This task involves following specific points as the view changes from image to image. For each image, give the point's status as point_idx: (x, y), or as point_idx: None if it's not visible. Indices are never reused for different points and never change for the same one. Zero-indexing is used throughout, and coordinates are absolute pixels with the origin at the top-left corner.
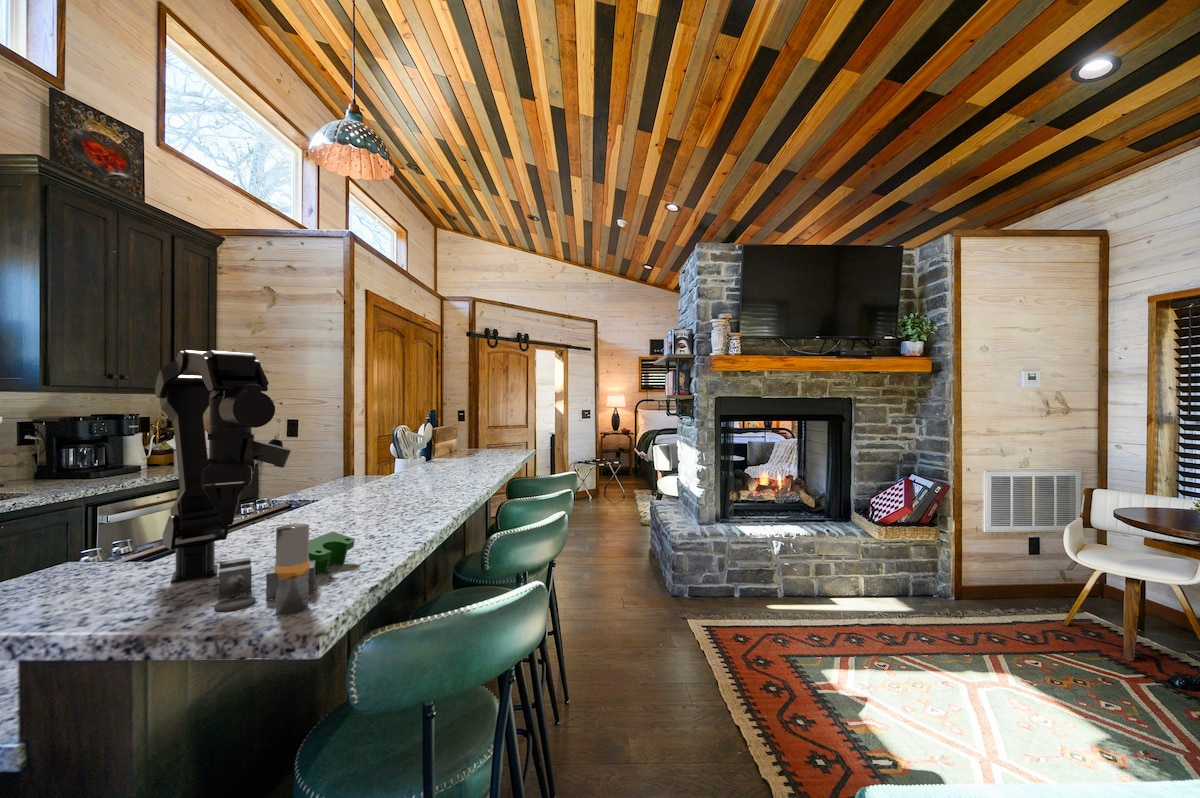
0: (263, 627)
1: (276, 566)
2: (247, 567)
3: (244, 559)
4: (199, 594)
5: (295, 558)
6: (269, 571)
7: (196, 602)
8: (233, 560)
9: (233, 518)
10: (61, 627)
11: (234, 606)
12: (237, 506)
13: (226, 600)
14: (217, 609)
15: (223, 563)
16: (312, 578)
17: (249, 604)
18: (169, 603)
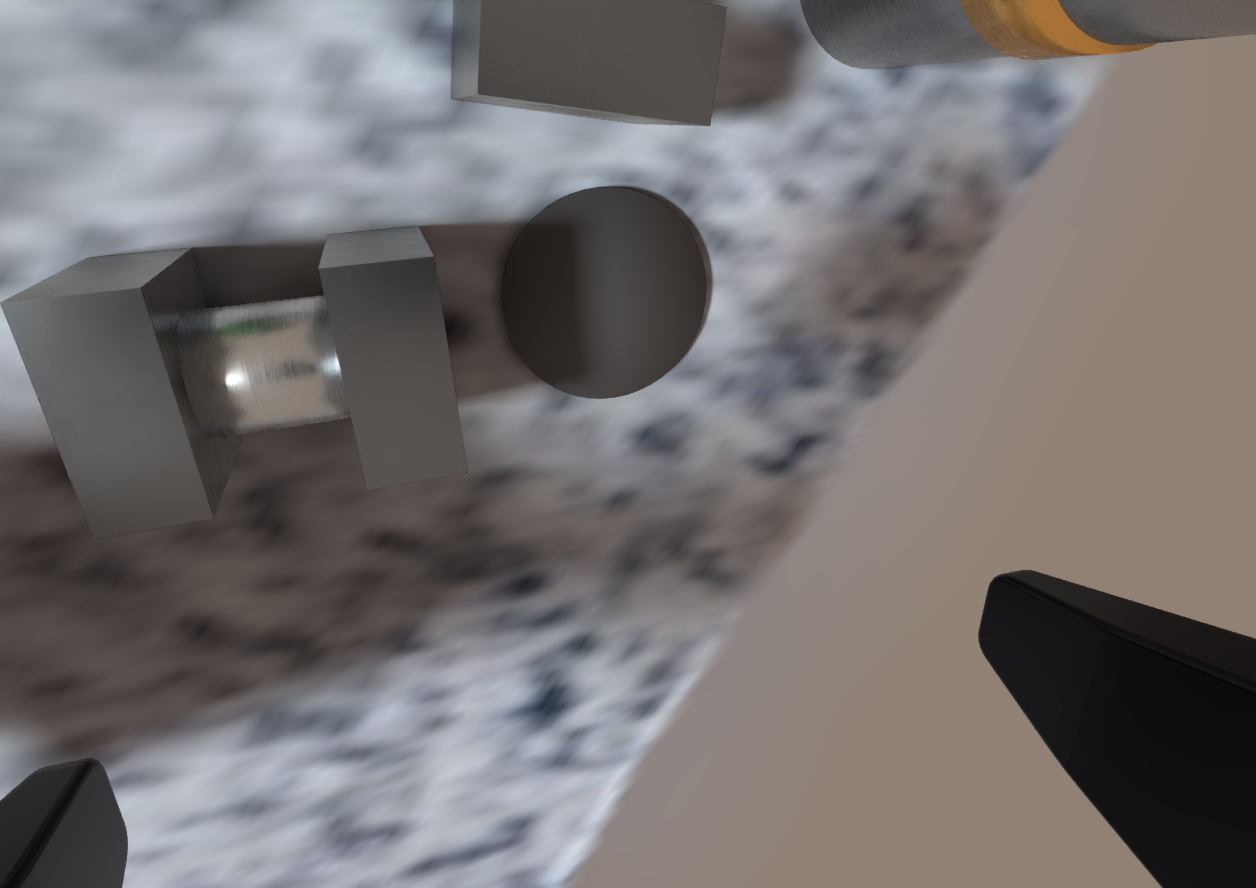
0: (1013, 130)
1: (1151, 43)
2: (427, 287)
3: (88, 347)
4: (282, 527)
5: None
6: (654, 101)
7: (442, 504)
8: (90, 438)
9: (1124, 599)
10: (503, 885)
11: (673, 295)
12: (17, 875)
13: (536, 353)
14: (663, 373)
15: (174, 499)
16: None
17: (677, 218)
18: (386, 627)
